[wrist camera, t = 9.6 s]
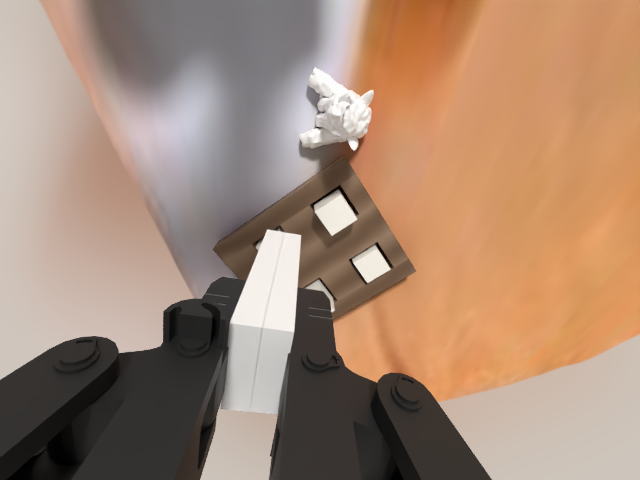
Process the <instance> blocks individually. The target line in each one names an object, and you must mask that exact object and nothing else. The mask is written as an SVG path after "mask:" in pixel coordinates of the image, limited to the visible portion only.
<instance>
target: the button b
mask: <svg viewBox="0 0 640 480" xmlns="http://www.w3.org/2000/svg"><path fill="white" fill-rule="evenodd" d="M305 288H306V289H312V290H319V291H324V293H325V294H326V295H327V297H328V298H329V299H330V304H331V312H333V311H335V308H334V301H333V297H332V296H331V294H330V293H329V292H328V290H327V289H326V288H325V287H324V285H323V284H322V283H321V281H320V280H319V279H318V280H317V281H315V282H313V283H312V284H310V285H309V286H307V287H305Z"/></svg>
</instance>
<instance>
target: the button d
mask: <svg viewBox="0 0 640 480" xmlns="http://www.w3.org/2000/svg"><path fill="white" fill-rule="evenodd" d="M352 260H353V263H354V265H355V266H356V268H357V269H358V270H359V272H360V273H361V275H362V276H363V277H364V279H365V280H366V282H367V283H369V282H370V281H372V280H374V279H375V278H377V277H379V276H380V275H382V274H384V273H386V272H387V271H389V270H391V269H390V267H389V265H388V263H387V262H386V260H385V258H384V257H383V255H382V254H381V252H380V251H379V249H378V248H377V246H376V245H375V244H373V245H372V246H370V247H368V248H367V249H365V250H363V251H362V252H360V253H359V254H357V255H355V256H354V257H352Z"/></svg>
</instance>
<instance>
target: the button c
mask: <svg viewBox="0 0 640 480" xmlns="http://www.w3.org/2000/svg"><path fill="white" fill-rule="evenodd" d="M314 209H315V213H316V214H317V216H318V217H319V219H320V220H321V221H322V223H323V224H324V226H325V227H326V229H327V230H328V231H329V233H330V234H331V236H333V235H334V234H336V233H337V232H339V231H340V230H342V229H344V228H345V227H347V226H348V225H350V224H351V223H353V222H354V221H356V220H357V218H356V216H355V214H354V212H353V210H352V209H351V207H350V206H349V204H348V203H347V201H346V200H345V198H344V197H343V195H342V194H341V192H340V190H339V189H337V190H336V191H334V192H333V193H332V194H330V195H329V196H327V197H326V198H324V199H323V200H321V201H320V202H318V203H317V204H315V205H314Z"/></svg>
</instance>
